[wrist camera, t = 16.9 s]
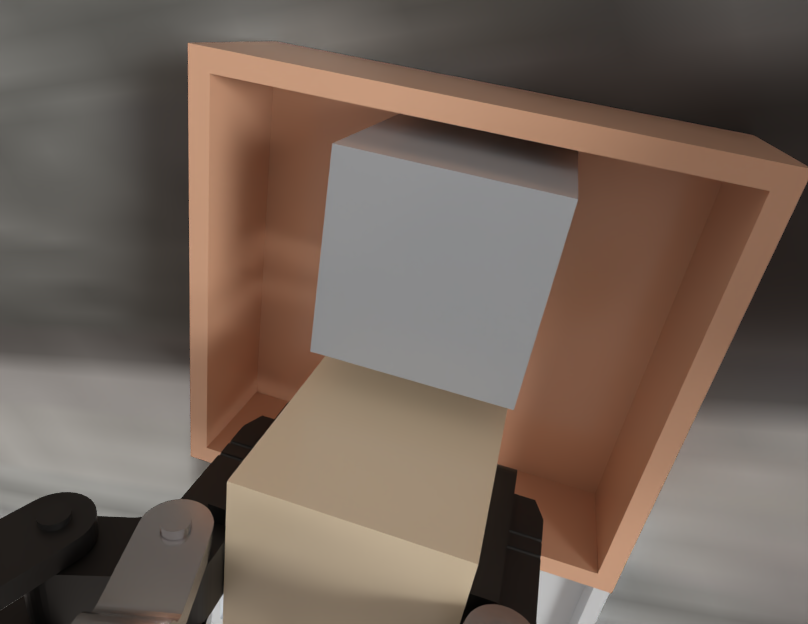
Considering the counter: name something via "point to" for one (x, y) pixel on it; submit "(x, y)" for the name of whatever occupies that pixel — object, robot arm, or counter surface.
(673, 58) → the counter surface
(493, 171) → the grey stacked cube
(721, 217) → the dish
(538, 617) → the tray
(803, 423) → the counter surface
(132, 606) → the robot arm
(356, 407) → the beige wooden cube
